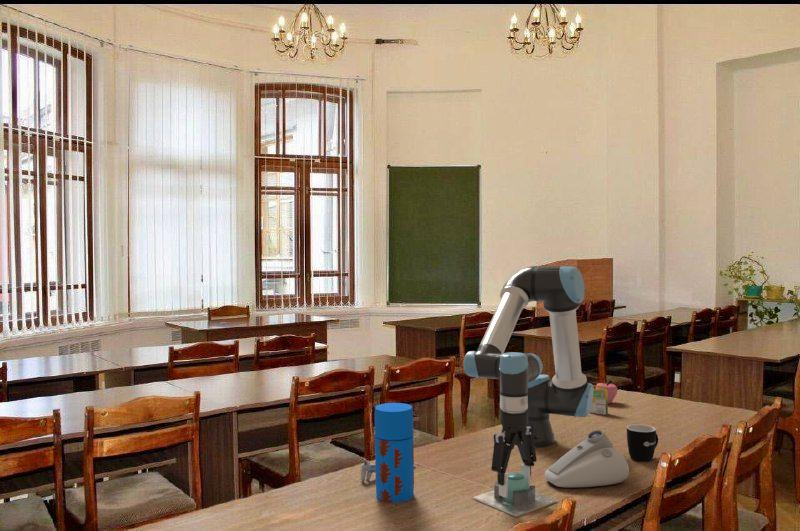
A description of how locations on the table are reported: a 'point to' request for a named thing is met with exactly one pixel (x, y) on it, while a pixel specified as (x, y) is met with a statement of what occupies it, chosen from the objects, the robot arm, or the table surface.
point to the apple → (609, 390)
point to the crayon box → (600, 401)
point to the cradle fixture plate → (516, 501)
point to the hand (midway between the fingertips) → (514, 492)
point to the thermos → (394, 452)
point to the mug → (641, 442)
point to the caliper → (369, 468)
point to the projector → (589, 464)
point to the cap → (515, 484)
